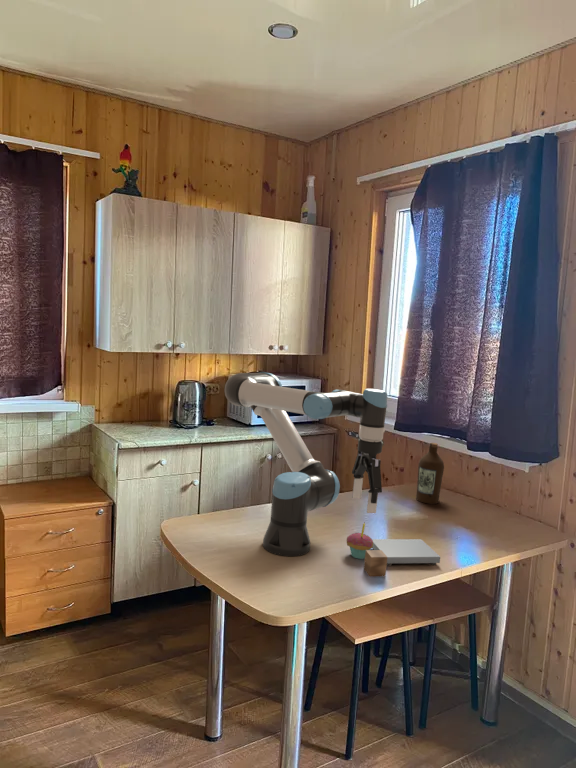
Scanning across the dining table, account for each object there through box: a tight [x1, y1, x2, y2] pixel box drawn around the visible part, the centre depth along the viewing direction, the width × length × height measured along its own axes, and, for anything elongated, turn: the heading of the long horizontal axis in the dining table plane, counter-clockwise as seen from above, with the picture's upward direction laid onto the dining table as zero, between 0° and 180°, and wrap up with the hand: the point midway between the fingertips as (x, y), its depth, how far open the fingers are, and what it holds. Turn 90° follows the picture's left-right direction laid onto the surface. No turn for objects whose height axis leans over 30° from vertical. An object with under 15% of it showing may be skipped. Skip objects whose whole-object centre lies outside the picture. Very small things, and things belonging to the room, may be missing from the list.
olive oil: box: [415, 442, 445, 505], centre depth 249 cm, size 11×11×25 cm
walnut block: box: [363, 549, 388, 578], centre depth 174 cm, size 5×5×6 cm
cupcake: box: [346, 521, 373, 560], centre depth 185 cm, size 9×8×12 cm
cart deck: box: [371, 538, 441, 567], centre depth 187 cm, size 18×14×3 cm
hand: (363, 505), depth 184 cm, fingers open, 13 cm apart
